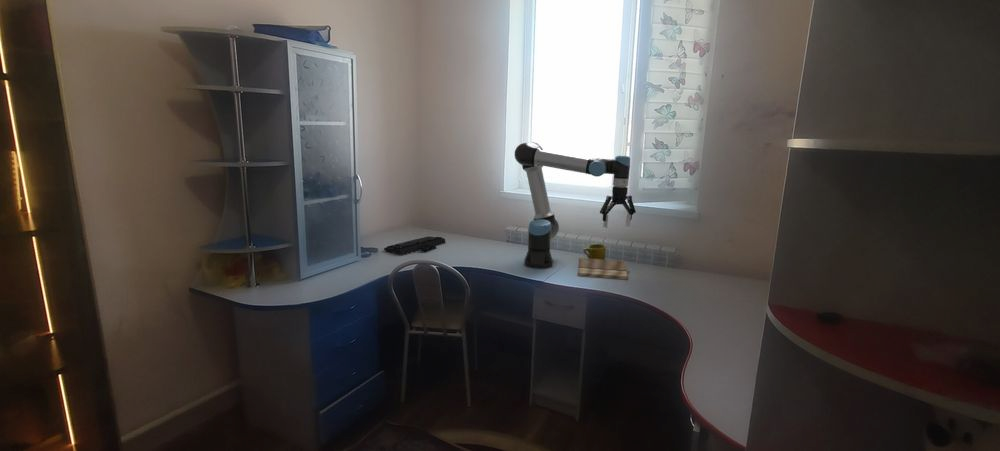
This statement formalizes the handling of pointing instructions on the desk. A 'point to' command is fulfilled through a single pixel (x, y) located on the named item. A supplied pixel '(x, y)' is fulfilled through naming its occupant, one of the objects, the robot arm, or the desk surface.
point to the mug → (596, 251)
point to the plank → (602, 264)
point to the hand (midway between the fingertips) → (616, 226)
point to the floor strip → (602, 273)
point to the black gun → (416, 245)
